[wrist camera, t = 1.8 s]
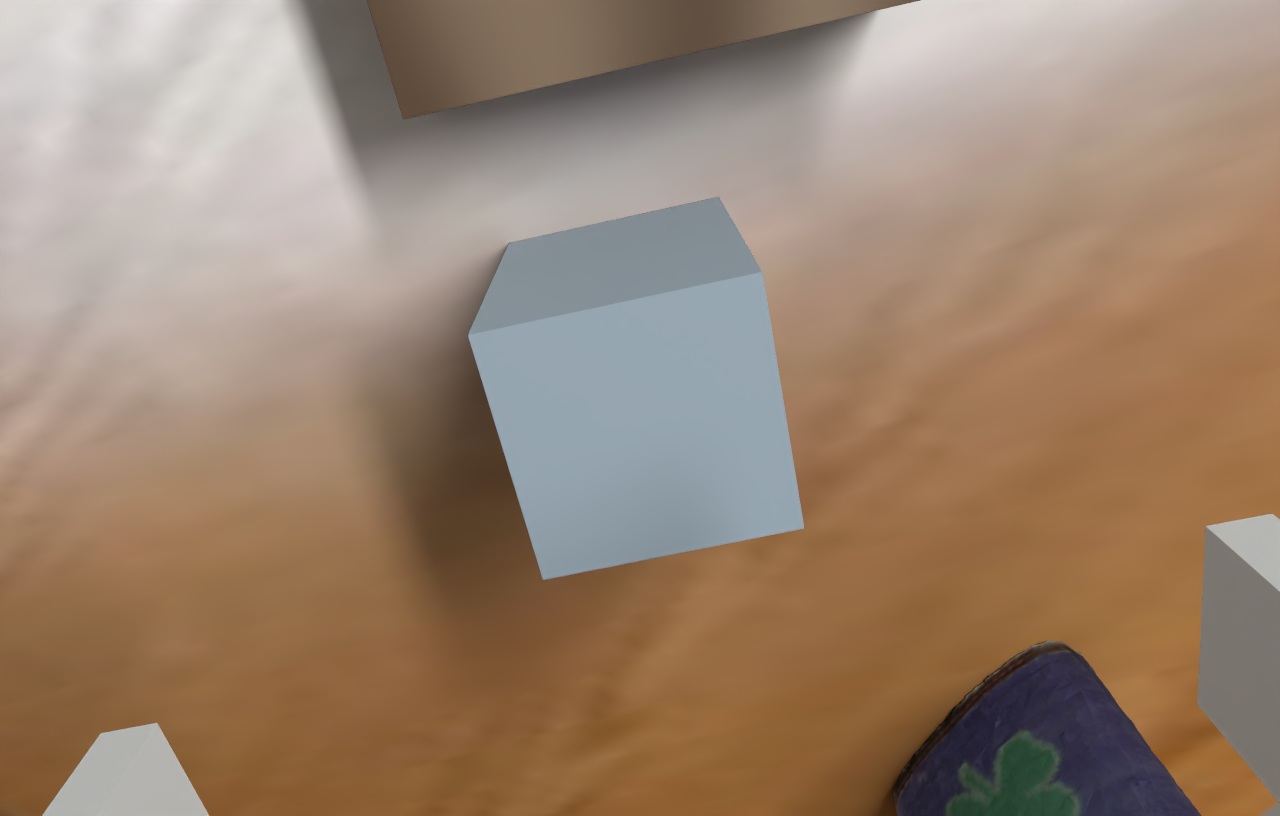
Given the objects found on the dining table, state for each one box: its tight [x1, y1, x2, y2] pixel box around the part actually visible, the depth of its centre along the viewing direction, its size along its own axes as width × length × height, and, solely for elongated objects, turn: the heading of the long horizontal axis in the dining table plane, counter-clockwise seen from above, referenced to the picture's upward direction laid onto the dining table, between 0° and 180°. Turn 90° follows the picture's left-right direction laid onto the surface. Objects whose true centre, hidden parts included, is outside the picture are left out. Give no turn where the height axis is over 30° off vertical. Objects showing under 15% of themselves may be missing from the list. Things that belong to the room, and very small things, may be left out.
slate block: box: [468, 197, 804, 580], centre depth 23 cm, size 6×6×8 cm
